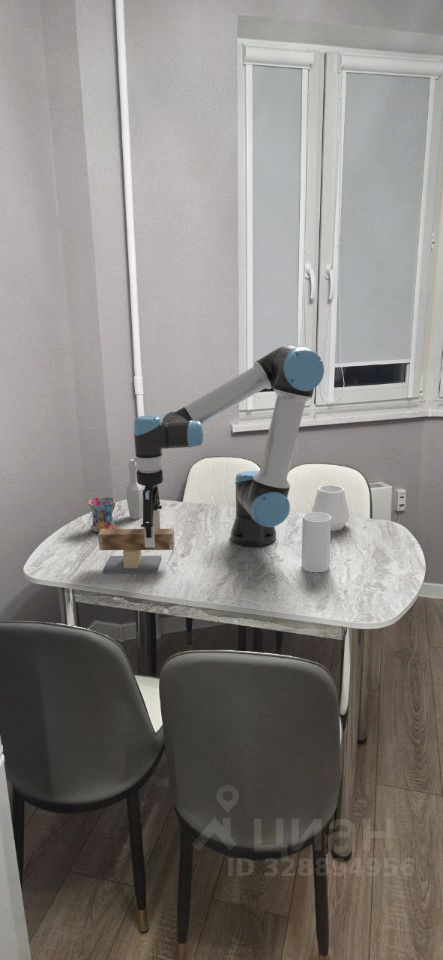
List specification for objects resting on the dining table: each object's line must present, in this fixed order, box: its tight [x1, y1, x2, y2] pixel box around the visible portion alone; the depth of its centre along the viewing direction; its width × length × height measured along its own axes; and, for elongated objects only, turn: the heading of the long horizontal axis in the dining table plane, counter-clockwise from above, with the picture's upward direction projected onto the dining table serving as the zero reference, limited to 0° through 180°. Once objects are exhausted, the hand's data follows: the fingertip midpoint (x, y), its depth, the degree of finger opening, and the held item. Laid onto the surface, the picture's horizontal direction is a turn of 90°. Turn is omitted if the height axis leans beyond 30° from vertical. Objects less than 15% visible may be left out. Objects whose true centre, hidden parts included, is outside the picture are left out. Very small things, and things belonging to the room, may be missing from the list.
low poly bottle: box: [125, 458, 144, 520], centre depth 225 cm, size 6×6×22 cm
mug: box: [87, 496, 116, 533], centre depth 216 cm, size 12×9×11 cm
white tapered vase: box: [311, 484, 350, 532], centre depth 214 cm, size 13×13×14 cm
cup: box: [301, 511, 332, 574], centre depth 182 cm, size 8×8×16 cm
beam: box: [97, 527, 175, 551], centre depth 184 cm, size 22×5×5 cm, turn 88°
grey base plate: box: [102, 550, 162, 574], centre depth 186 cm, size 16×10×6 cm, turn 88°
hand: (153, 538), depth 184 cm, fingers open, 13 cm apart
